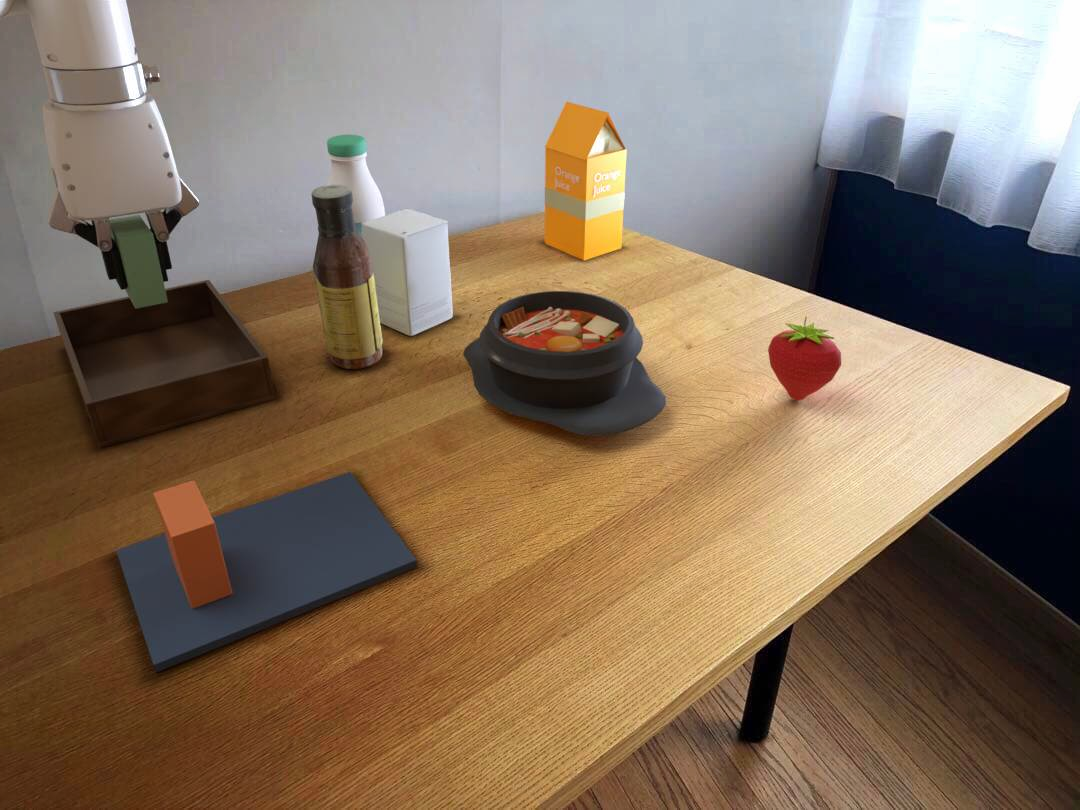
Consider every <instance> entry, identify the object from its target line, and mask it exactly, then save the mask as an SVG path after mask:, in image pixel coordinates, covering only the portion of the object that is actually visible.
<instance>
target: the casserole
mask: <svg viewBox="0 0 1080 810" xmlns="http://www.w3.org/2000/svg"><path fill="white" fill-rule="evenodd" d="M643 340H644V339H643V335H642V334H641V332H640V330H639V328H638V327H636V323H635V320H634V318H633V316H632V314H631V313H630V312H629V311H628V310H627V309H626V308H625V307H624V306H622V305H621V304H619V303H617V302H616V301H614V300H612V299H609V298H607V297H603V296H600V295H597V294H593V293H587V292H581V291H572V290H546V291H538V292H532V293H526V294H523V295H519V296H516V297H513V298H511V299H508V300H506V301H504V302H503V303H501V304H499V305H498V306H497V307H495V308H494V309H493V310H492V312H491V313H490V315H489V317H488V320H487V322H486V324H485V325H484V326H483V328H482V330H481V331H480V333H479V337H478V338H476V339H473V340H472V341H471V342H470V343H469V344H468V345H466V346H465V347H464V351H463V353H462V355H463V357H464V359H465V361H466V362H467V363H468V365H469V367H470V369H471V375H472V381H473V387H474V388H475V389H476V391H477V393H478V395H479V396H481V398H483V399H484V400H485V401H486V402H487V403H488V404H490V405H492V406H494V407H495V408H497V409H499V410H501V411H503V412H506V413H507V414H510V415H513V416H517V417H520V418H525V419H529V420H533V421H537V422H541V423H545V424H549V425H551V426H554V427H557V428H559V429H562V430H564V431H566V432H570V433H573V434H576V435H579V436H586V437H598V436H599V437H601V436H611V435H616V434H619V433H625V432H628V431H630V430H634V429H636V428H638V427H641V426H644V425H645V424H647V423H649V422H650V421H652V420H654V419H655V418H657V416H658V415H659V414H660V413H662V412H663V411H664V408H665V407H666V405H667V397H666V395H665V394H664V393H663V391H662V389H660V387H658V386H657V384H655V382H653V381H652V379H651V378H650V377H651V376H650V375H649V374H648V371H647V369H646V367H645V366H644V364H643V362H642V361H640V359H639V358H637V357H638V356H639V354H640V353H641V352H642V349H643V345H644V341H643Z"/></svg>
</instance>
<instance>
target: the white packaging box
mask: <svg viewBox="0 0 1080 810" xmlns="http://www.w3.org/2000/svg"><path fill="white" fill-rule="evenodd" d="M362 228H363V237H364V242H365V244H366V245H367V247H368V249H369V252H370V258H371V266H372V270H373V273H374V281H375V289H376V296H377V304H378V311H379V318H380V324H382V325H384V326H386V327H388V328H390V329H393V330H395V331H397V332H399V333H402V334H404V335H405V336H408V337H413V336H415V335H417V334H420V333H423V332H424V331H428V330H429V329H431V328H433V327H434V328H435V327H436V326H438V325H440V324H442V323H445V322H447V321H449V320H451V319H453V318H454V310H453V295H452V279H451V264H450V263H451V261H450V246H449V230H448V229H449V228H448V221H447V220H445V219H441V218H438V217H435V216H432V215H430V214H429V215H428V214H426V213H423V212H420V211H418V210H417V211H416V210H414V209H410V208H404V209H401V210H398V211H395V212H391V213H389V214H385V216H383V217H380V218H377V219H374V220H371V221H368V222H365V223H362Z"/></svg>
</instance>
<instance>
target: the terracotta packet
mask: <svg viewBox="0 0 1080 810" xmlns="http://www.w3.org/2000/svg"><path fill="white" fill-rule="evenodd" d="M153 498H154V501H155V505H156V508H157V512H158V515H159V519H160V522H161V525H162V528H163V531H164V534H165V536H166V539H167V542H168V546H169V549H170V553H171V556H172V559H173V563H174V565H175V568H176V570H177V573H178V575H179V578H180V580H181V583H182V585H183V588H184V591H185V593H186V596H187V598H188V601H189V603H190V606H191V608H192V609H194V608H197V607H200V606H202V605H205V604H207V603H210V602H213V601H215V600H218V599H221V598H223V597H226V596H229V595H231V594H232V590H231V586H230V582H229V578H228V574H227V570H226V566H225V562H224V558H223V554H222V550H221V546H220V542H219V538H218V534H217V530H216V526H215V523H214V520H213V517H212V515H211V512H210V511H209V508H208V506H207V504H206V502H205V500H204V497H203V496H202V494H201V491H200V490H199V488H198V486H197V483H196V481H195V480H191V481H187V482H184V483H181V484H177V485H174V486H171V487H168V488H165V489H161V490H158V491H154V492H153Z"/></svg>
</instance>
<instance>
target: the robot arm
mask: <svg viewBox="0 0 1080 810" xmlns="http://www.w3.org/2000/svg"><path fill="white" fill-rule="evenodd" d="M22 14H28V17H29V19H30V22H31V26H32V30H33V35H34V38H35V39H34V40H35V42H36V45H37V46H36V47H37V50H38V53H39V57H40V62H41V64H42V65H41V66H42V69H43V73H44V78H45V81H46V85H47V89H48V93H49V97H50V100H47V101H44V102H43V103H42V118H43V120H42V121H43V128H44V135H45V136H44V137H45V141H46V146H47V147H46V148H47V153H48V156H49V161H50V166H51V171H52V176H53V179H54V185H55V188H56V190H55V193H54V196H53V199H52V203H51V206H50V209H49V212H48V215H47V222H48V224H49V227H50V228H52V229H54V230H56V231H61V232H64V233H68V234H73V235H77V236H78V237H80V238H81V239H83V240H84V241H86V242H89V243H90V244H91V245H93V246H95V247H97V248H98V249H99V250H100V252H101V253H100V254H101V256H102V260H103V264H104V268H105V272H106V275H107V278H108V280H109V281H112V280H115V281H116V283H117V285H118V287H119V289H120V290H123V291H124V290H125V289H127V287H128V284H127V280H126V276H125V272H124V268H123V264H122V259H121V255H120V252H119V250H118V248H117V246H116V244H115V242H114V240H113V238H112V237H111V230H110V223H109V220H110V219H112V218H119V217H125V216H132V215H139V214H143V213H144V214H145V217H146V220H147V223H148V226H149V229H150V231H151V232H152V234H153V237H154V241H155V246H156V250H157V255H158V259H159V264H160V268H161V273H162V277H163V282H164V283H165V282H169V277H168V273H167V271H168V270H172V269H173V266H172V260H171V256H170V251H169V247H168V242H167V241H169V239H170V235H171V234H172V232H173V231H174V230H175V228H176V227H177V225H178V224H179V223H180V221H181V219H182V218H184V217H186V216H187V215H189V214H190V213H192V212H193V211H194V210H195V209H197V208H198V207H199V206H200V201H199V199H198V198H197V197H196V196H195V195H194V193H193V192H192V191H191V190H190V188H189V187H188V186H187V185H186V184H185V183H184V181H183V180H182V179H181V177H180V176H179V172H178V168H177V165H176V160H175V157H174V154H173V149H172V147H171V142H170V140H169V135H168V133H167V130H166V126H165V124H164V121H163V118H162V115H161V112H160V110H159V108H158V105H157V103H156V100H155V98H154V97H153V95H152V94H151V93H148V92H147V88H148V86H149V85H152V83H160V82H161V79H160V78H161V77H160V71H159V69H158V67H157V65H155V66H148V65H144V64H143V63H141V61H139V57H138V52H137V48H136V43H135V38H134V33H133V29H132V23H131V19H130V12H129V9H128V4H127V0H0V20H2V19H4V18H7V17H10V16H14V15H22ZM162 210H163V211H162ZM88 221H90V223H89V222H88Z"/></svg>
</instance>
